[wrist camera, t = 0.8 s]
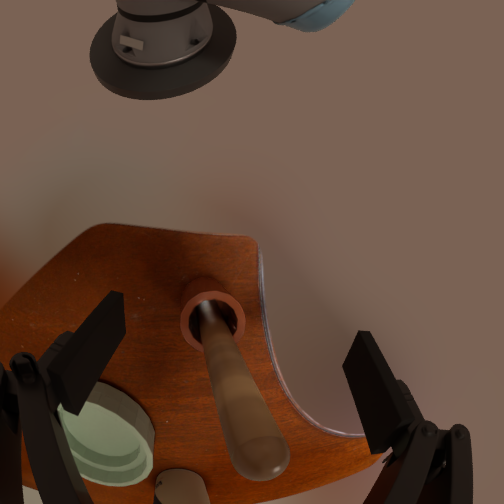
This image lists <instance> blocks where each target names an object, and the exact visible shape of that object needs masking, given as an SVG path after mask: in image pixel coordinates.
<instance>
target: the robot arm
mask: <svg viewBox="0 0 504 504" xmlns="http://www.w3.org/2000/svg"><path fill="white" fill-rule="evenodd" d="M354 1H355V0H116V2H117V7H118V13H117V16H116V20H115V24H114V28H113V32H112V46H113V49H114V52H115V55H116V56H117V58H118V59H119V60H120V61H121V62H123V63H124V64H126V65H128V66H131V67H134V68H138V69H144V70H158V69H166V68H171V67H174V66H178V65H181V64H183V63H186V62H188V61H190V60H192V59H193V58H195V57H196V56H198V55H199V54H200V53H201V52H202V51H203V50H204V49H205V48H206V47H207V45H208V44H209V42H210V39H211V36H212V31H213V23H212V18H211V15H210V12H209V9H208V5H207V3H209V4H214V5H218V6H223V7H227V8H231V9H235V10H239V11H242V12H246V13H250V14H253V15H256V16H259V17H263V18H266V19H269V20H272V21H273V22H274V23H275V24H278V25H286V26H289V27H291V28H294V29H297V30H300V31H303V32H317V31H319V30H322V29H324V28H326V27H328V26H329V25H331V24H332V23H333V22H335V21H336V20H337V19H338V18H339V17H340V16H341V15H342V14H344V13H345V11H346V10H347V9H348V8H349V7H350V6H351V5H352V4H353V2H354ZM125 334H126V327H125V314H124V298H123V293H120V292H116V291H112V290H111V291H110V292H109V293H108V294H107V296H106V297H105V298H104V299H103V300H102V301H101V302H100V303H99V305H98V306H97V307H96V308H95V309H94V310H93V311H92V313H91V314H90V315H89V316H88V317H87V318H86V320H85V321H84V322H83V323H82V324H81V325H80V327H79V328H78V329H77V330H76V331H75V333H73V332H70V331H66V332H64V333H63V334H61V335H59V336H58V337H57V339H56V340H55V341H54V343H52V344H51V346H50V347H49V348H48V349H47V350H46V352H45V353H44V354H43V355H42V356H41V358H40V359H39V360H38V361H37V362H36V359H35V357H34V356H33V355H32V354H30V353H28V352H21V353H17V354H16V355H14V356H13V357H12V358H11V360H10V363H9V365H10V367H11V370H12V371H8V370H5V369H4V367H3V364H2V363H1V362H0V504H24V499H23V488H22V472H21V438H22V431H23V436H24V441H25V445H26V450H27V454H28V458H29V462H30V466H31V469H32V473H33V476H34V479H35V482H36V485H37V488H38V491H39V494H40V497H41V499H42V502H43V504H94V503H93V501H92V499H91V497H90V495H89V493H88V491H87V489H86V486H85V484H84V482H83V480H82V477H81V475H80V473H79V470H78V468H77V465H76V463H75V460H74V458H73V455H72V452H71V449H70V447H69V444H68V441H67V438H66V435H65V431H64V428H63V425H62V421H61V418H60V414H59V411H58V409H57V408H58V406H59V405H60V403H61V405H62V407H63V409H64V410H65V411H67V412H69V413H71V414H74V415H76V416H78V415H79V414H80V412H81V410H82V408H83V406H84V404H85V402H86V401H87V399H88V397H89V395H90V393H91V391H92V390H93V388H94V386H95V384H96V383H97V381H98V379H99V377H100V376H101V374H102V372H103V370H104V369H105V367H106V365H107V364H108V362H109V360H110V359H111V357H112V355H113V354H114V352H115V350H116V349H117V347H118V345H119V344H120V342H121V340H122V339H123V337H124V336H125ZM342 367H343V370H344V373H345V375H346V378H347V381H348V384H349V387H350V390H351V393H352V395H353V398H354V401H355V405H356V408H357V411H358V414H359V417H360V420H361V423H362V426H363V429H364V432H365V436H366V439H367V442H368V445H369V448H370V452H371V455H372V454H379V453H384V452H386V451H387V450H388V449H389V448H390V447H392V449H393V452H392V453H391V454H390V455H389V456H387V457H386V459H384V460H383V462H382V463H384V462H385V461H386V463H385V466H384V467H383V469H382V471H381V473H380V475H379V477H378V479H377V480H376V482H375V484H374V486H373V487H372V489H371V491H370V493H369V494H368V496H367V498H366V499H365V501H364V503H363V504H473V465H472V451H471V439H470V433H469V431H468V429H467V428H466V427H465V426H464V425H461V424H455V425H453V427H452V428H451V429H450V430H440V429H438V427H437V426H436V425H435V424H434V423H432V422H431V421H425V420H424V418H423V416H422V414H421V412H420V410H419V408H418V406H417V404H416V402H415V400H414V398H413V396H412V395H411V392H410V390H409V388H408V387H407V385H406V384H405V383H404V382H403V381H402V380H396V379H395V377H394V375H393V373H392V371H391V369H390V367H389V366H388V364H387V362H386V360H385V358H384V356H383V354H382V353H381V351H380V349H379V347H378V345H377V343H376V342H375V340H374V338H373V336H372V334H371V333H370V331H358V333H357V335H356V337H355V339H354V342H353V344H352V346H351V349H350V350H349V352H348V355H347V357H346V359H345V361H344V363H343V365H342ZM445 462H446V465H445Z"/></svg>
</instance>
